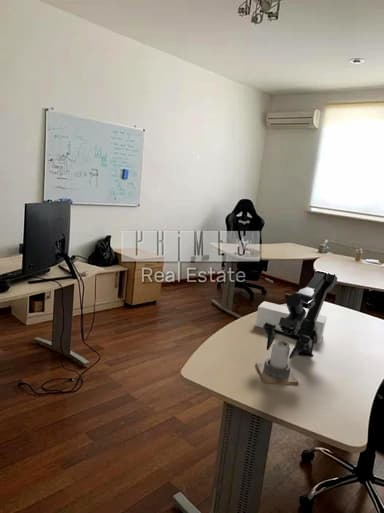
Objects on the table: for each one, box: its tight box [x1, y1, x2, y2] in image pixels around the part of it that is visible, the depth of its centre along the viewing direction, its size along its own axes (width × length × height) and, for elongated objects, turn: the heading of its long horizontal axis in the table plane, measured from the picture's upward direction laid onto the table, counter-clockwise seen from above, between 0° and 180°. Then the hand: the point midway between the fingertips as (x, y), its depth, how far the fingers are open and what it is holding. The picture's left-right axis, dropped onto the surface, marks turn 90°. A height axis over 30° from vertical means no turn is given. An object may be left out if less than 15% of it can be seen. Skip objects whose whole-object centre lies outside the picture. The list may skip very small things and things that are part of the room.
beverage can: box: [270, 339, 291, 369], centre depth 146 cm, size 6×6×12 cm
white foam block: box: [255, 300, 327, 344], centre depth 192 cm, size 32×11×11 cm, turn 64°
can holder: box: [255, 357, 299, 386], centre depth 147 cm, size 13×13×4 cm
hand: (278, 354), depth 145 cm, fingers open, 9 cm apart
